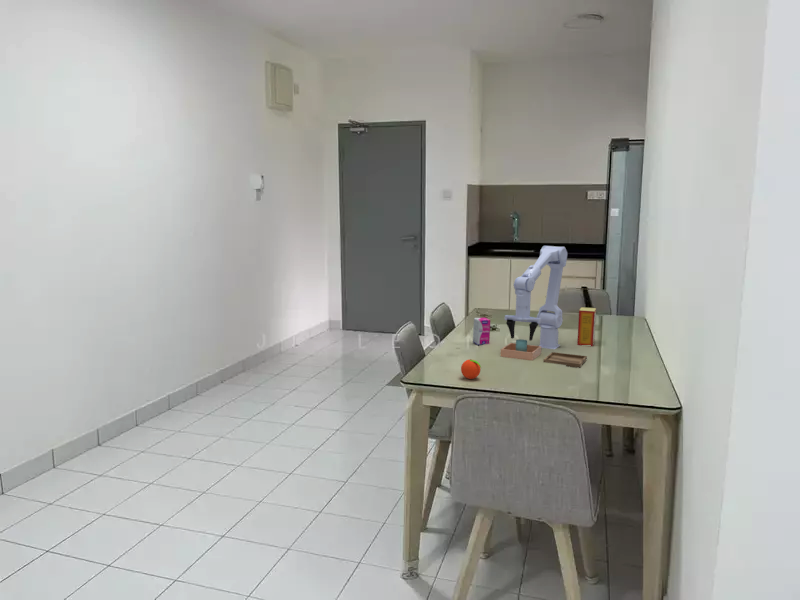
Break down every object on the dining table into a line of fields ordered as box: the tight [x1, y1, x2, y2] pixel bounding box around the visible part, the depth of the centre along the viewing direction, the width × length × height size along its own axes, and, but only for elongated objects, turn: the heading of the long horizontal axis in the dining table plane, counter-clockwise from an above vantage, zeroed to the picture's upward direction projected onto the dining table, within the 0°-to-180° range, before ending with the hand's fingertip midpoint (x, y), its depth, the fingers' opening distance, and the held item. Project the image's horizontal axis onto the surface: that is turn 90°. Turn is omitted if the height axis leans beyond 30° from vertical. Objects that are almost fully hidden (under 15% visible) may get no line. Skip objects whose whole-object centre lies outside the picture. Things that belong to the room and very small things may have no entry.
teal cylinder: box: [515, 338, 528, 352], centre depth 250 cm, size 4×4×6 cm
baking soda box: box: [576, 306, 597, 347], centre depth 273 cm, size 10×6×16 cm
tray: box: [542, 351, 588, 368], centre depth 242 cm, size 14×14×2 cm
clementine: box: [460, 358, 482, 380], centre depth 216 cm, size 8×7×7 cm
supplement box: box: [472, 317, 491, 346], centre depth 271 cm, size 6×6×12 cm
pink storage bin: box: [500, 342, 542, 361], centre depth 250 cm, size 13×13×4 cm
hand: (521, 339), depth 249 cm, fingers open, 7 cm apart
